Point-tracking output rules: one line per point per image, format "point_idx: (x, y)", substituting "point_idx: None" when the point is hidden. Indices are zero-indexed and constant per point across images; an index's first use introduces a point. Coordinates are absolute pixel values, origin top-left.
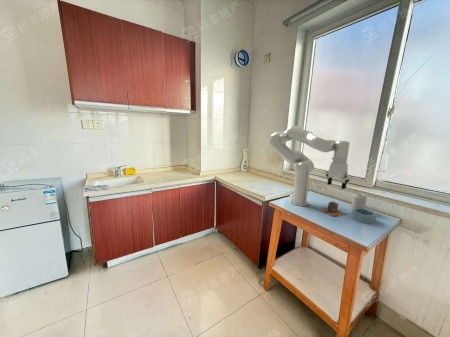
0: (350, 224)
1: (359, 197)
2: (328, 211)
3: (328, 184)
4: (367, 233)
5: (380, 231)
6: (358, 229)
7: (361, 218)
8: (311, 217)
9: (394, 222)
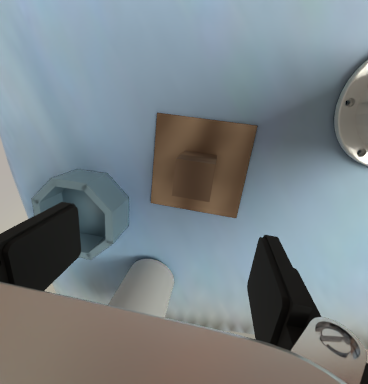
0: (82, 108)
1: None
2: (208, 149)
3: (261, 237)
4: (13, 91)
5: (14, 156)
6: (43, 92)
7: (68, 173)
8: None
9: None
